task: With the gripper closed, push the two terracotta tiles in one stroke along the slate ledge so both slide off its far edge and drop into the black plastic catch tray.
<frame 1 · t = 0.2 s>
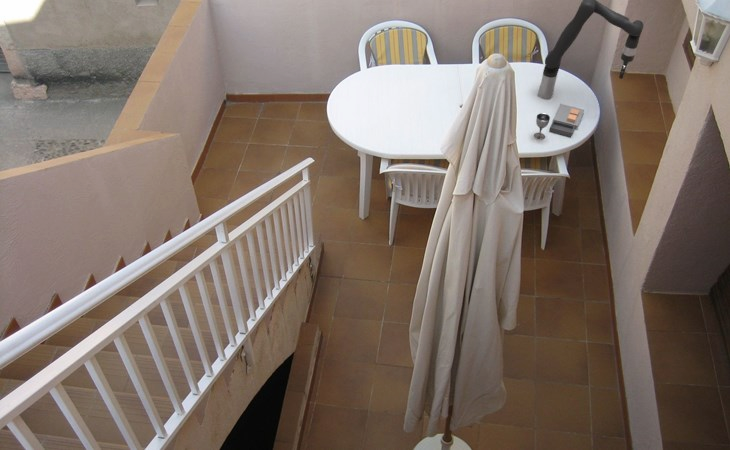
hand: (622, 74, 434), 29 cm above the table, fingers open, 8 cm apart
wine glass: (539, 136, 438), on the table
slate ledge: (567, 118, 450), on the table
catch tray: (561, 130, 441), on the table
tile rear: (573, 114, 448), point 3 cm above the table, touching slate ledge
tile front: (571, 119, 444), point 3 cm above the table, touching slate ledge
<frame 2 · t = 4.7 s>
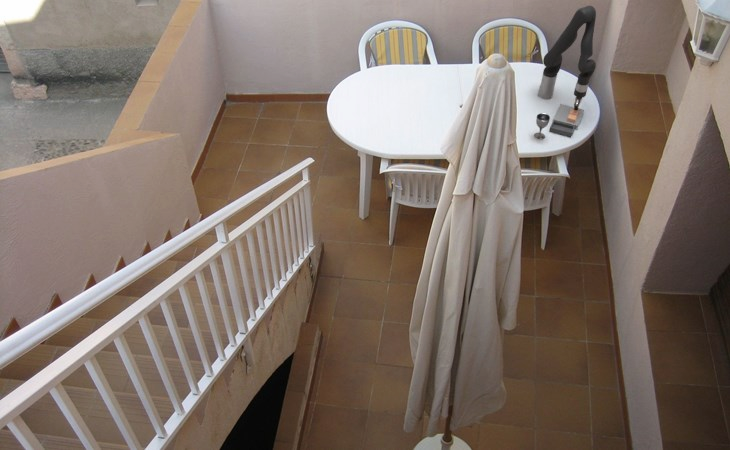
hand: (575, 110, 449), 4 cm above the table, fingers closed
tile rear: (573, 115, 448), point 3 cm above the table, touching gripper
everything else where it was.
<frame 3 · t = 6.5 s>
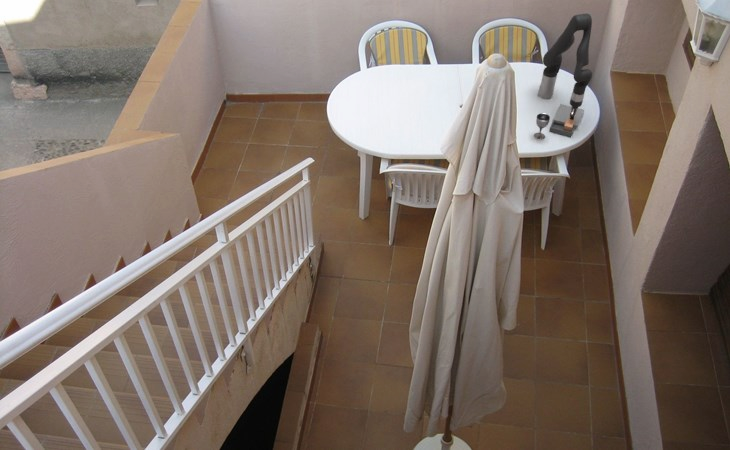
hand: (571, 120, 442), 4 cm above the table, fingers closed
tile rear: (569, 124, 441), point 3 cm above the table, tilted 14°, touching gripper, slate ledge
tile front: (568, 126, 439), point 3 cm above the table, tilted 101°, touching catch tray
everything else where it was.
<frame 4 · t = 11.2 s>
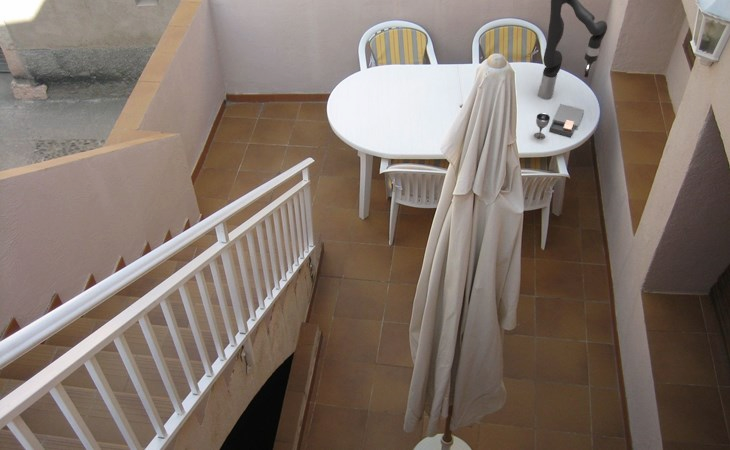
hand: (586, 76, 433), 29 cm above the table, fingers closed
tile rear: (568, 125, 441), point 2 cm above the table, tilted 25°, touching catch tray, tile front
tile front: (568, 127, 438), point 4 cm above the table, tilted 115°, touching catch tray, tile rear
everything else where it was.
at the end: tile rear inside the target area on the catch tray (4.7 cm from its centre), point 2.4 cm above the catch tray's base; tile front inside the target area on the catch tray (3.5 cm from its centre), point 3.8 cm above the catch tray's base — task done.
